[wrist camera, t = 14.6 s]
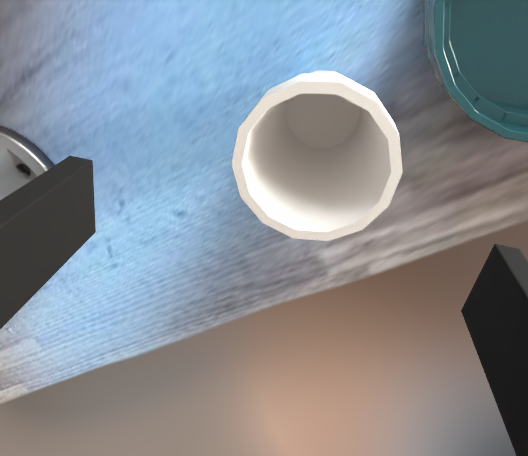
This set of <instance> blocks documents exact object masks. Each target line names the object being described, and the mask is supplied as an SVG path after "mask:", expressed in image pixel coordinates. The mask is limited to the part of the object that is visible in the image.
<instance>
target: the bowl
mask: <svg viewBox="0 0 528 456" xmlns="http://www.w3.org/2000/svg"><path fill="white" fill-rule="evenodd" d="M424 44H425V45H424V46H425V49H426V52H427V55H428V58H429V61H430V64H431V67H432V69H433V72H434V75H435V78H436V80H437V82H438V83H439V84H440V85H441V86H442V88H443V89H444V90H445V91H446V92H447V94H448V95H449V96H450V97H451V98H452V100H453V101H454V102H455V103H456V104H457V106H458V107H459V108H460V109H461V110H462V111H463V112H464V113H465V114H466V115H467V116H468V117H469V118H470V119H471V120H473V121H475V122H476V123H478V124H480V125H482V126H484V127H485V128H487V129H489V130H491V131H492V132H494V133H496V134H498V135H500V136H501V137H503V138H507V139H512V140H518V141H523V142H528V0H424Z"/></svg>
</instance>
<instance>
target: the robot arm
mask: <svg viewBox="0 0 528 456" xmlns="http://www.w3.org/2000/svg"><path fill="white" fill-rule="evenodd" d="M94 233H95V209H94V186H93V163H92V160H88V159H83V158H78V157H73V156H69V157H67V158H66V159H64V160H63V161H61V162H60V163H58V164H56V165H55V166H54V164H53V163H52V162H51V161H50V159H49V158H48V157H47V156H46V155H45V154H44V153H43V152H42V151H41V150H40V149H39V148H38V147H36V146H35V145H34V144H33V143H32V142H30V141H29V140H27V139H26V138H24V137H23V136H21V135H20V134H18V133H16V132H14V131H12V130H10V129H8V128H6V127H3V126H0V329H1V328H2V327H3V326H4V325H5V324H6V323H7V322H8V321H9V320H10V319H11V318H12V317H13V316H14V315H15V314H16V313H17V312H18V311H19V310H20V309H21V308H22V306H23V305H24V304H25V303H26V302H27V301H28V300H29V299H30V298H31V297H32V296H33V295H34V294H35V293H36V292H37V291H38V290H39V289H40V288H41V287H42V286H43V285H44V284H45V283H46V282H47V281H48V280H49V279H50V278H51V277H52V276H53V275H54V274H55V273H56V272H57V271H58V270H59V269H60V268H61V267H62V266H63V265H64V264H65V263H66V262H67V261H68V260H69V258H70V257H71V256H72V255H73V254H74V253H75V252H76V251H77V250H78V249H79V248H80V247H81V246H82V245H83V244H84V243H85V242H86V241H87V240H88V239H89V238H90V237H91V236H92V235H93V234H94ZM461 311H462V314H463V316H464V319H465V322H466V324H467V327H468V330H469V332H470V335H471V338H472V340H473V343H474V346H475V348H476V351H477V353H478V356H479V359H480V361H481V364H482V366H483V369H484V372H485V374H486V377H487V380H488V382H489V385H490V388H491V390H492V392H493V395H494V398H495V401H496V403H497V406H498V408H499V411H500V414H501V416H502V419H503V422H504V424H505V427H506V429H507V432H508V434H509V437H510V440H511V442H512V445H513V448H514V450H515V453H516V456H528V261H527V259H526V258H525V257H524V255H523V254H522V252H521V251H520V249H517V248H512V247H508V246H503V245H498V244H494V246H493V248H492V250H491V252H490V254H489V256H488V259H487V260H486V262H485V264H484V266H483V268H482V270H481V272H480V274H479V276H478V278H477V280H476V282H475V284H474V286H473V288H472V290H471V292H470V294H469V296H468V298H467V300H466V302H465V304H464V307H463V308H462V310H461Z"/></svg>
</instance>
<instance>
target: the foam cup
mask: <svg viewBox="0 0 528 456" xmlns="http://www.w3.org/2000/svg"><path fill="white" fill-rule="evenodd" d="M232 167H233V171H234V175H235V178H236V182H237V186H238V189H239V193H240V197H241V198H242V199H243V200H244V201H245V203H246V204H247V205H248V206H249V207H250V209H251V210H252V211H253V212H254V213H255V215H256V216H257V217H258V218H259V219H260V220H261V222H262V223H264V224H266V225H268V226H270V227H272V228H274V229H276V230H278V231H280V232H282V233H284V234H286V235H288V236H290V237H292V238H296V239H309V240H322V241H330V240H333V239H336V238H339V237H342V236H345V235H348V234H351V233H354V232H357V231H360V230H362V229H364V228H365V227H366V226H367V225H368V224H369V223H370V222H371V221H373V220H374V219H375V218H376V217H377V216H378V215H379V214H380V213H382V212H383V211H384V210H385V209H386V208H387V207H388V206H389V204H390V202H391V199H392V197H393V195H394V192H395V190H396V187H397V185H398V183H399V180H400V178H401V176H402V173H403V170H402V159H401V148H400V136H399V133H398V130H397V128H396V125H395V123H394V121H393V120H392V118H391V117H390V115H389V114H388V112H387V111H386V109H385V108H384V106H383V105H382V103H381V102H380V100H379V99H378V97H377V96H376V94H375V93H374V92H373V91H371V90H369V89H367V88H365V87H363V86H362V85H360V84H358V83H356V82H354V81H352V80H351V79H349V78H347V77H345V76H343V75H341V74H339V73H338V72H336V71H317V70H316V71H314V72H312V73H309V74H308V73H302V74H300V75H298V76H296V77H294V78H292V79H289V80H287V81H285V82H283V83H281V84H279V85H277V86H275V87H272V88H270V89H268V91H267V92H266V93H265V94H264V96H263V97H262V98H261V99H260V101H259V102H258V103H257V105H256V106H255V107H254V108H253V110H252V111H251V112H250V113H249V115H248V116H247V117H246V119H245V120H244V121H243V123H242V124H241V126H240V127H239V128H238V133H237V139H236V144H235V149H234V154H233V159H232Z"/></svg>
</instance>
